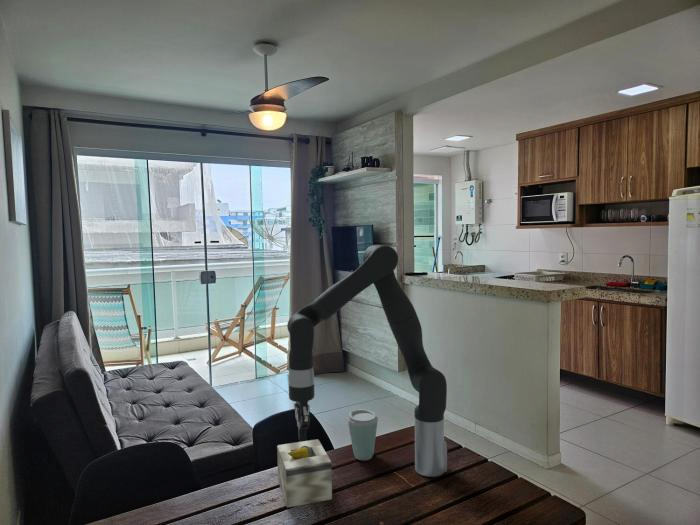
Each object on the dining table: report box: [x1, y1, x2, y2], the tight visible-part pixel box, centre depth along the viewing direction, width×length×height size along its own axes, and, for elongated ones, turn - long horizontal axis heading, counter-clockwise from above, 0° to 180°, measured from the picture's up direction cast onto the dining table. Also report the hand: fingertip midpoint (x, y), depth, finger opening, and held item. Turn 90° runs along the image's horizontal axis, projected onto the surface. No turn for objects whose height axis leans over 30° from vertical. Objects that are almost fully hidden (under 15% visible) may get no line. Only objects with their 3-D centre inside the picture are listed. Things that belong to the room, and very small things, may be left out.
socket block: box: [276, 439, 333, 508], centre depth 140 cm, size 13×17×11 cm
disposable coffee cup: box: [346, 408, 379, 461], centre depth 160 cm, size 11×11×15 cm
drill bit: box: [287, 446, 314, 459], centre depth 139 cm, size 5×5×10 cm
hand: (302, 439), depth 140 cm, fingers closed
